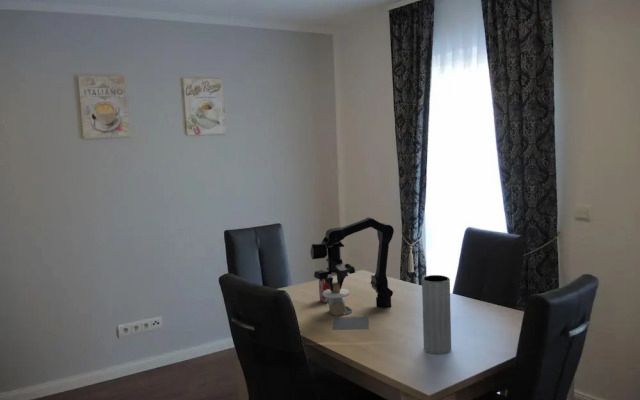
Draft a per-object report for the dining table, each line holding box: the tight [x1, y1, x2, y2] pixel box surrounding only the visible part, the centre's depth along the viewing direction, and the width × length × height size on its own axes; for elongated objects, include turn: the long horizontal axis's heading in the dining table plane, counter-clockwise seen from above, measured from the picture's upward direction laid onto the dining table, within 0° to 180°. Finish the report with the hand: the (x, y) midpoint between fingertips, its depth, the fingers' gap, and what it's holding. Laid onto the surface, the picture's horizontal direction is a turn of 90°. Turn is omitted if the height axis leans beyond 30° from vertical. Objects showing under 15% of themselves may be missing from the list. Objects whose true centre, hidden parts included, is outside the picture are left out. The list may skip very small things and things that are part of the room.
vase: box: [421, 274, 452, 355], centre depth 198 cm, size 10×10×27 cm
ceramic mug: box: [327, 297, 353, 316], centre depth 244 cm, size 11×8×8 cm
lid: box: [323, 281, 350, 298], centre depth 243 cm, size 12×12×5 cm
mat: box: [332, 316, 370, 331], centre depth 229 cm, size 15×15×1 cm
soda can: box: [318, 279, 334, 303], centre depth 264 cm, size 7×7×12 cm
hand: (335, 290), depth 243 cm, fingers closed on lid, 4 cm apart
